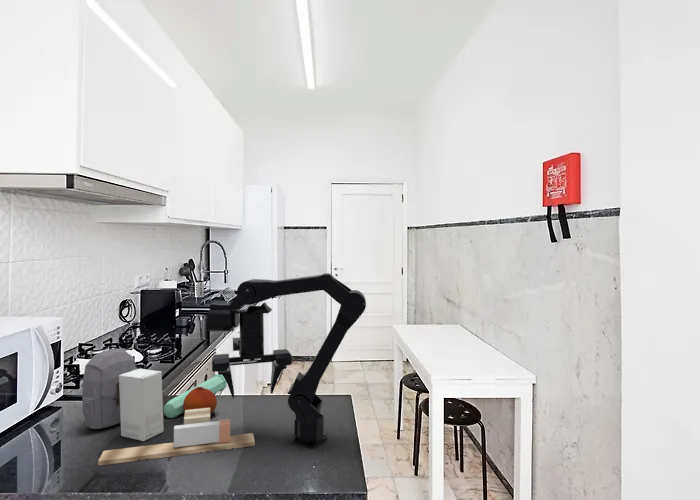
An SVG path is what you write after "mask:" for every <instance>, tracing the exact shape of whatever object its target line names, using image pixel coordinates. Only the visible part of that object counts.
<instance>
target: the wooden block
mask: <svg viewBox="0 0 700 500" xmlns="http://www.w3.org/2000/svg"><path fill="white" fill-rule="evenodd" d="M205 422H211V413H210V408H202V409H192V410H185V412H184V417H183V425H186V424H195V423H205Z"/></svg>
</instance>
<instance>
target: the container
mask: <svg viewBox="0 0 700 500" xmlns="http://www.w3.org/2000/svg"><path fill="white" fill-rule="evenodd" d="M227 386H228V384H227V382H226V380H225V379H224V377H223V375H218V373H216V374H214V375H213V376H212V377H211V378H209V379H207V380H205V381H204V382H202V383H200V384H198V385H196V386H193V387H192V388H190V389H188V390H187V391H185V392H183V393H181V394H178V395H177V396H175V397H174V398H171V399H170V400H168V401H167V403H166V404H164V405H163V415H165V416H166V418H171V419H175V418H177V417H179V416H181V415H182V414H184V413H185V411H184V409H183V403H184V399H185V397H186V396H187V395H188V393H189V392H190V391H192V390H193V389H195V388H196V387H203V388H205V389H208V390H210V391H211V392H213V393H214V394H215V395H216V394H218V393H219V392H224V390H225V389H226V388H227ZM183 412H184V413H183ZM180 414H181V415H180ZM178 415H179V416H178ZM174 417H175V418H174Z"/></svg>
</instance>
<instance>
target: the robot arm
mask: <svg viewBox="0 0 700 500" xmlns="http://www.w3.org/2000/svg"><path fill="white" fill-rule="evenodd" d="M320 291H324V292H325V293H326V294H328V295H329V296H330V297H331V298H332V299H333V300H334V301H336V302H337V303H338V304H339V305H340V307H339V309H338V312H337V316H336V318H335V321H334V323H333V325H332V326H331V328H330V331H329V332H328V333H327V336H326V338H324V339H325V340H324V341H323V342H322V345H321V346H320V348H319V350H318V351H317V354H316V355H315V357H314V359H313V360H312V363H311V364H310V366H309V368H308V370H307V371H306V372H305V373H304V374H303V373H301V372H300V371H299V372H298V374H297V376H296V378H294V379H295V380H294V382H293V383H292V384H291V386H290V387H289V389H288V391H287V395H289V396H288V398H287V405H288V407H289V409H290V411H292V412H294V414H295V419H294V424H293V425H294V428H293V430H294V433H293V435H294V437H293V438H291V443H294V444H297V445H300V446H303V447H307V448H311V449H313V448H315V447H316V446H318V445H319V444H322V443H323V442H324V441H326V440H327V439H328V436H327V435H325V433H324V429H325V426H324V423H325V422H324V421H325V417H324V416H325V415H324V414H322V412H321V411H322V408H323V403H324V401H323V399H321V398H320V396H319V395H318V394H316V393H317V390H318V388H319V384H320V381H321V378H322V377H323V375H324V373H326V370H327V368H328V366H329V364H330V363H331V361H332V360H333V357H334V356H335V354H336V352H337V351H338V349H339V347H340V345H341V343H342V341H343V340H344V338H345V337H346V335H347V333H348V331H349V330H350V328H351V327H353V325H354V324H355V323H356V322H357V321H358V319H360V318H361V317H362V314H364V313H365V310H366V308H367V301H366V296H365V295H364V293H362V292H361V291H360V290H357V289H351V288H350V287H348V285H346V284H344V283H342V281H340V280H338V279H337V278H336V277H334V275H332V274H331V273H329V272H325V273H322V274H317V275H308V276H302V277H301V276H300V277H295V278H288V279H280V280H279V279H278V280H277V279H276V280H273V279H263V278H262V279H257V278H256V279H255V278H253V279H252V278H251V279H249V280H245V281H242V282H241V283H240V284H239V285H238V286H237V290H236V296H235V297H234V298H233V300H232V301H231V303H225V304H224V303H218V302H217V303H216V302H215V303H211V304H209V310H208V312H207V315H206V316H207V317H206V320H205V321H206V325H205V326H206V329H207V331H208V332H209V333H210V332H211V333H212V332H234V331H235V328H238V327H239V337H232V351H233V352H237V351H238V352H239V353H238V355H239V356H232V357H231V356H230V353H221V354H220V353H219V354H214V355H213V356H212V357H211V372H215V373H216V372H217V374H218V375H223V377H224V379H225V380H226V382H227V386H228V389H229V392H230V395H231V397H232V398H234V397H235V391H234V390H235V388H234V383H233V376H232V370H231V367H232V366H240V365H241V366H242V365H252V364H253V365H255V364H263V363H264V364H265V363H271V377H270V385H269V387H270V388H269V389H270V391H269V392H270V394H274V391H275V387H276V384H277V382H278V380H279V378H280V376H281V374H282V372H283V370H285V369H287V366H291V365H293V356H292V355H293V354H292V353H291V352H290V351H289V350H288V349H287V348H284V349H283V348H282V349H273V351H272V353H270V354H267V353H266V354H265V347H264V346H265V340H264V339H265V332H264V331H265V330H264V326H265V324H264V318H265V317H264V316H265V315H264V314H269V313H271V312H272V311H273V309H272V308H271V307H270V306H268V304H267V302H265V301H267V300H269V299H272V298H276V297H281V296H290V295H297V294H302V293H311V292H312V293H313V292H320ZM263 301H264V302H263ZM261 302H263V303H261ZM258 303H261V305H255V304H258ZM244 306H248V307H247V309H241V308H242V307H244Z"/></svg>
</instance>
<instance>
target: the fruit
mask: <svg viewBox="0 0 700 500" xmlns="http://www.w3.org/2000/svg"><path fill="white" fill-rule="evenodd" d="M195 387H196V386H195ZM217 405H218V400H217V396H216V394H214V393H213V392H211V391H210V390H208V389H205V388H203V387H196V388H195V389H193V390H192V391H190V392H189V393H188V395H187V396H186V397H185V399H184V403H183V409H184V411H185V410H192V409H202V408H210V414H212V413H213V412H214V411H215V410H216V408H217Z"/></svg>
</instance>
